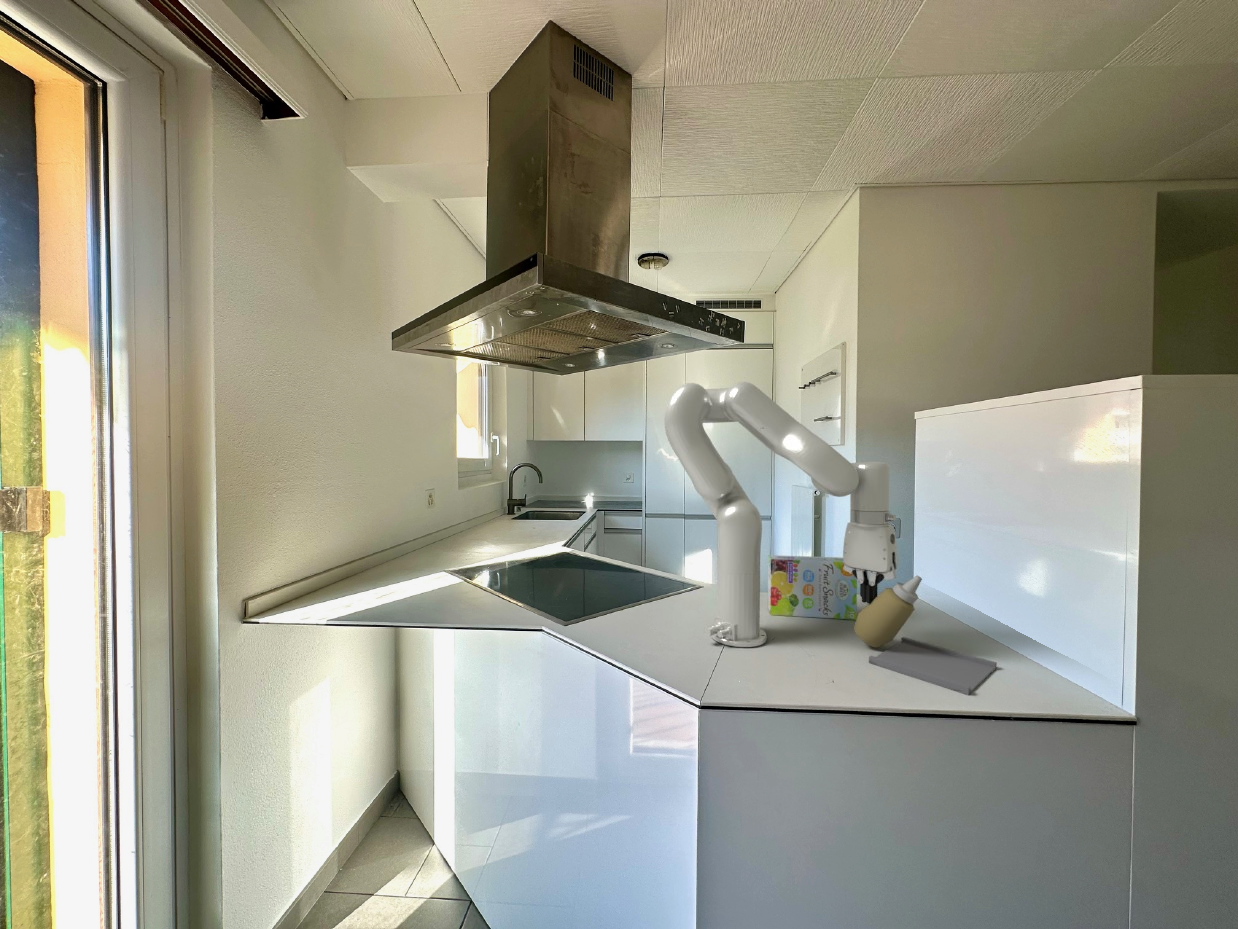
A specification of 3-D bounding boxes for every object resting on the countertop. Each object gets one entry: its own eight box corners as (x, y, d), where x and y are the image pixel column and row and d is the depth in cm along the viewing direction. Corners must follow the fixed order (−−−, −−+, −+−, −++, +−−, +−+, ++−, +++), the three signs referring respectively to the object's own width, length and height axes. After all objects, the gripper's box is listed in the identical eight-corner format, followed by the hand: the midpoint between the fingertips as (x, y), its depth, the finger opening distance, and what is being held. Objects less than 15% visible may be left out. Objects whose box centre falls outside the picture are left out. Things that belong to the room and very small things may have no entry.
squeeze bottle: (844, 617, 112) (895, 558, 105) (876, 633, 112) (929, 575, 105) (853, 641, 104) (908, 579, 97) (887, 658, 104) (945, 598, 97)
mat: (968, 695, 86) (968, 688, 86) (868, 662, 99) (868, 656, 99) (996, 668, 97) (996, 662, 97) (903, 642, 110) (903, 637, 110)
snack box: (850, 613, 129) (851, 557, 129) (857, 621, 124) (858, 561, 123) (767, 609, 133) (767, 553, 133) (769, 615, 128) (770, 558, 127)
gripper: (913, 520, 104) (912, 606, 104) (843, 513, 115) (843, 591, 115) (899, 523, 99) (898, 614, 99) (827, 516, 110) (827, 597, 111)
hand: (868, 601), depth 107 cm, fingers closed
